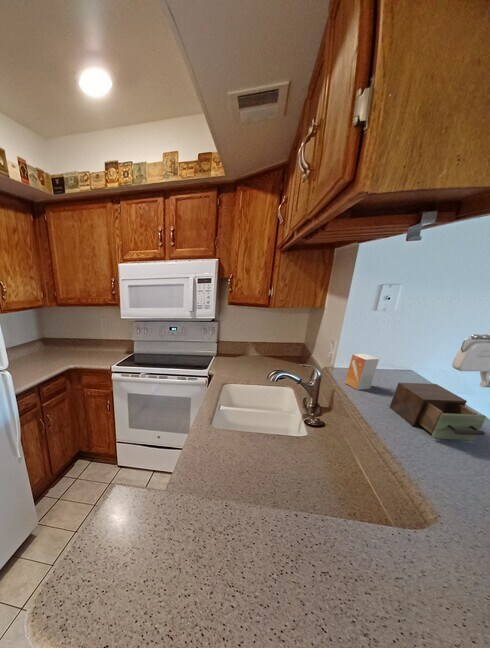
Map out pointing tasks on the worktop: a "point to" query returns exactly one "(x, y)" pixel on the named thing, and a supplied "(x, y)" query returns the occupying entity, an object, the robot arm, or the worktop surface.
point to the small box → (361, 371)
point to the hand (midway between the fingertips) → (487, 386)
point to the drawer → (451, 421)
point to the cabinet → (419, 399)
